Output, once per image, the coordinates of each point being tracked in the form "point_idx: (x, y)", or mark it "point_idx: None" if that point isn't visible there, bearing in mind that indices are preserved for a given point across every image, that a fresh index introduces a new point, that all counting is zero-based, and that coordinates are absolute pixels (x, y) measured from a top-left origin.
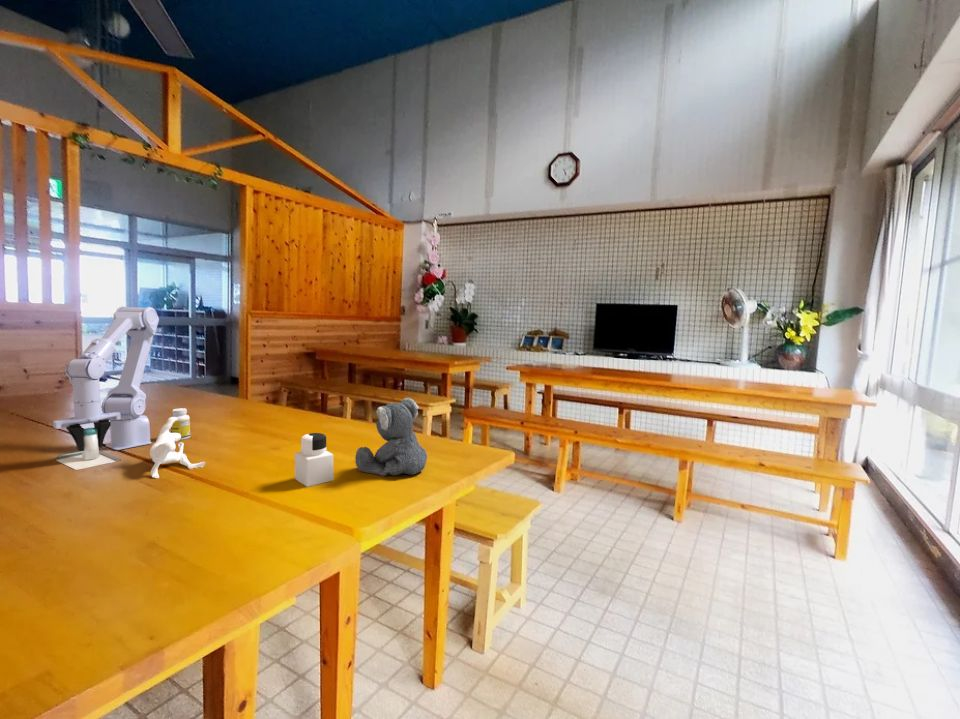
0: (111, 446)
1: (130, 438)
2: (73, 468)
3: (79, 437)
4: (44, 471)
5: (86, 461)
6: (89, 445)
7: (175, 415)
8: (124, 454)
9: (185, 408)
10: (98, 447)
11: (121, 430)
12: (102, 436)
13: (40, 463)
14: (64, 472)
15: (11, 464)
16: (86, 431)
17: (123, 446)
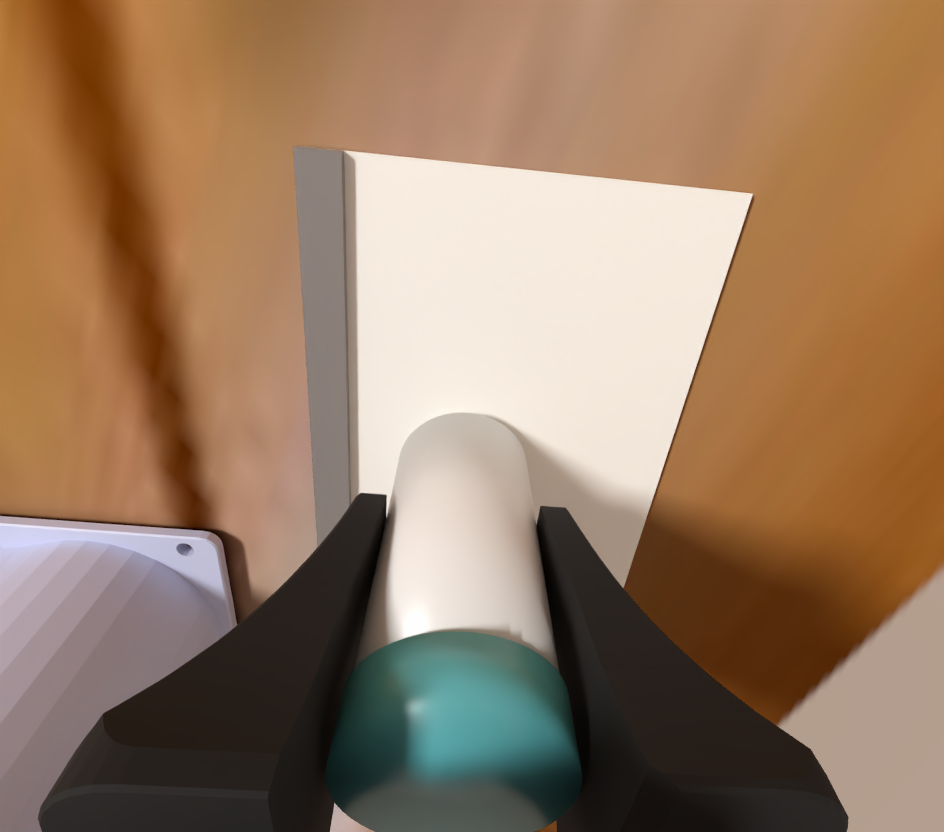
0: (222, 633)
1: (31, 602)
2: (725, 271)
3: (640, 635)
4: (852, 414)
5: (526, 411)
6: (500, 515)
7: None
8: (197, 369)
9: None
10: (394, 500)
11: (41, 726)
12: (323, 578)
13: (700, 626)
14: (838, 218)
15: (774, 716)
16: (543, 717)
17: (145, 560)
